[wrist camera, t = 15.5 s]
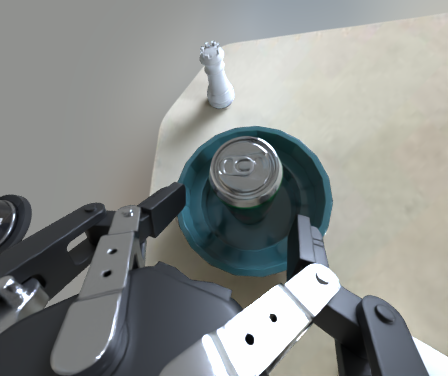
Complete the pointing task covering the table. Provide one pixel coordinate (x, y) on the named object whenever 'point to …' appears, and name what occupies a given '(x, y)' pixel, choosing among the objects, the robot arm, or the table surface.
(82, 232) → the robot arm
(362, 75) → the table surface
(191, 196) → the teal serving bowl
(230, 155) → the soda can
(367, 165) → the table surface
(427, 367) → the mug
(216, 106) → the rook chess piece
